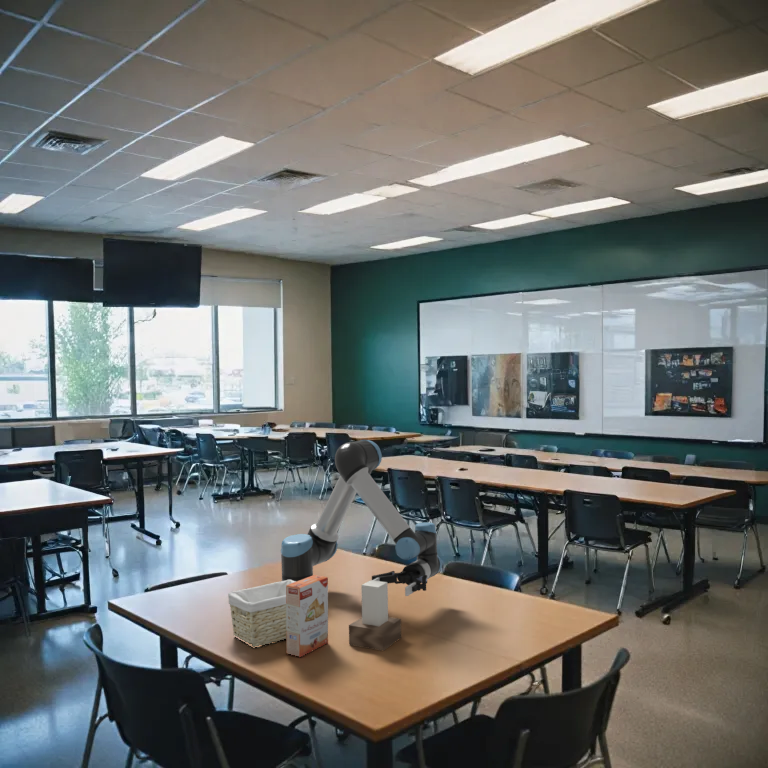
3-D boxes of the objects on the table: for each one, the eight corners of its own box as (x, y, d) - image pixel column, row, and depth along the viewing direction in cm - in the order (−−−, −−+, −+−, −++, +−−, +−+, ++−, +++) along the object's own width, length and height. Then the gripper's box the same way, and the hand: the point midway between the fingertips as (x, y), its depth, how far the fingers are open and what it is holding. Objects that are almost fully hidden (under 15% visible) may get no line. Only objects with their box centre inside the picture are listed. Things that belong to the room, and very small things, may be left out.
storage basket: (250, 652, 215) (249, 603, 215) (226, 637, 227) (225, 591, 227) (317, 633, 229) (316, 588, 229) (291, 621, 242) (290, 578, 242)
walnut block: (349, 644, 219) (348, 625, 219) (368, 632, 229) (367, 613, 229) (383, 650, 213) (383, 630, 213) (401, 637, 224) (400, 618, 224)
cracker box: (301, 658, 208) (300, 587, 208) (285, 654, 211) (284, 584, 211) (329, 643, 220) (328, 576, 220) (314, 640, 223) (313, 573, 223)
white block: (362, 623, 220) (361, 584, 220) (371, 617, 225) (370, 580, 225) (379, 626, 217) (378, 587, 217) (388, 620, 223) (387, 582, 223)
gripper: (449, 588, 242) (422, 605, 223) (384, 579, 253) (354, 595, 235) (448, 566, 242) (422, 582, 223) (384, 558, 253) (354, 573, 235)
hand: (387, 589), depth 229 cm, fingers open, 13 cm apart
